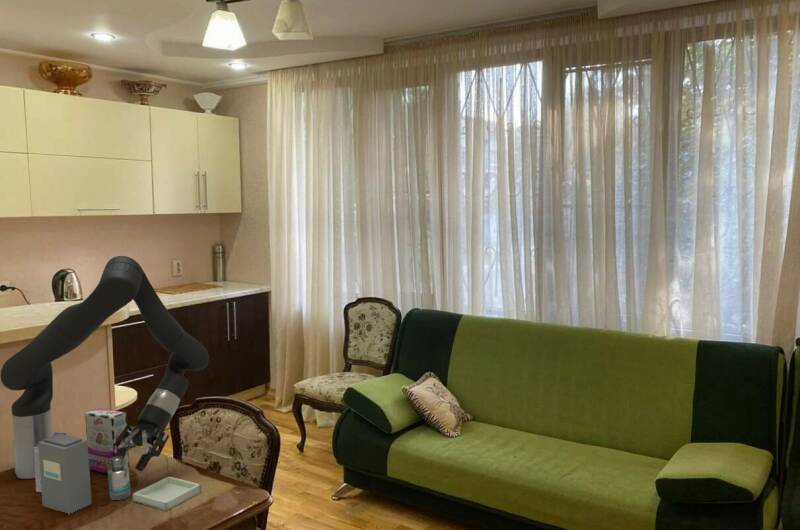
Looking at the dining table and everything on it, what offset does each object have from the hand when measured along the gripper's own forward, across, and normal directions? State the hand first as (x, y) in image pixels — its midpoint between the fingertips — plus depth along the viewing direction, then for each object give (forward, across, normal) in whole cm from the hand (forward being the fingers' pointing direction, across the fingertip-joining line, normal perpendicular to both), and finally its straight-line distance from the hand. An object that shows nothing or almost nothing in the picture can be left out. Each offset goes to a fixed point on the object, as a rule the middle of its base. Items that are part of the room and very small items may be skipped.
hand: (126, 467), depth 163 cm
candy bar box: (-1, +18, -11) cm, 21 cm away
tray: (+3, -10, -8) cm, 13 cm away
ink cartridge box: (+9, +19, -1) cm, 21 cm away
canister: (+6, +1, -4) cm, 7 cm away
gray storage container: (+12, +9, +2) cm, 15 cm away
